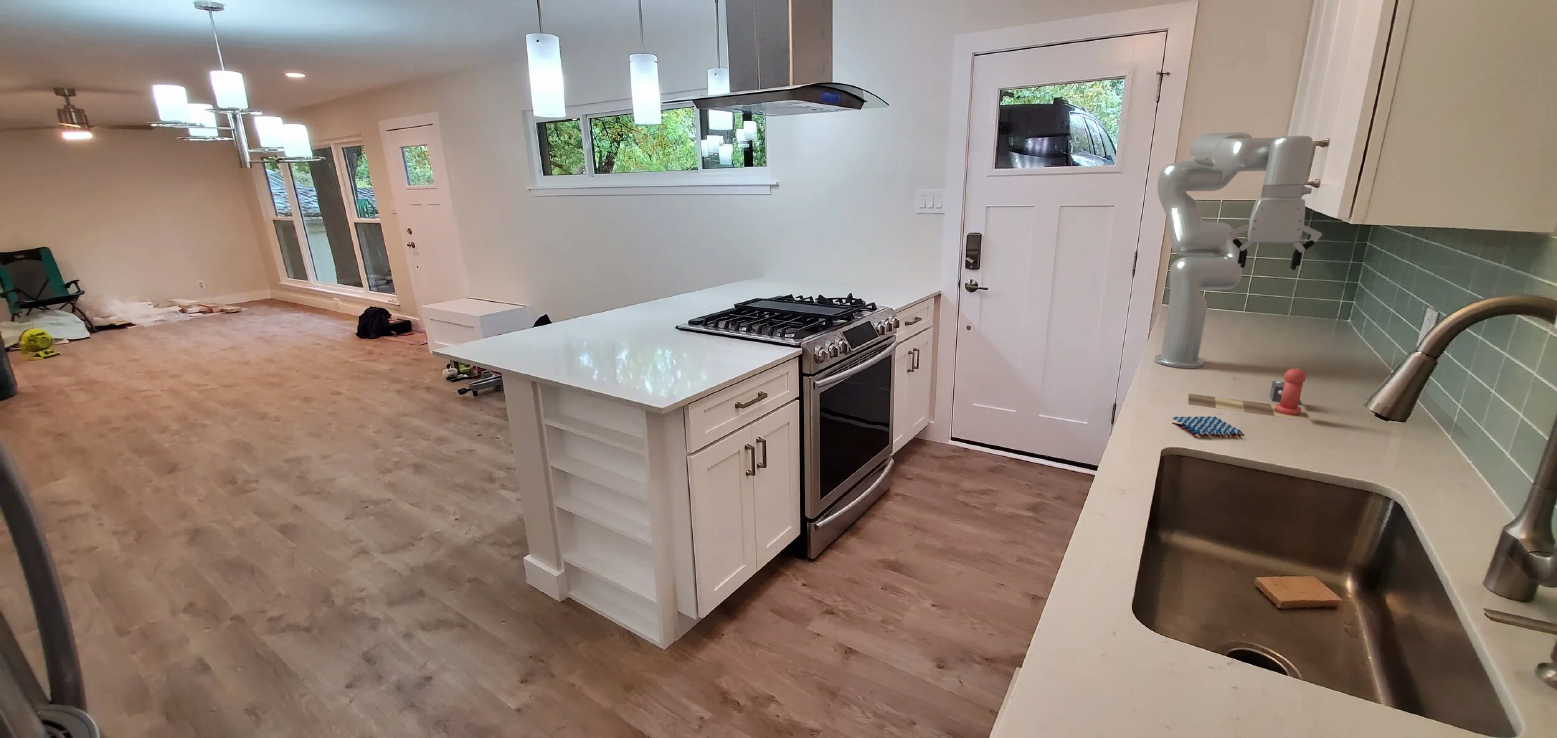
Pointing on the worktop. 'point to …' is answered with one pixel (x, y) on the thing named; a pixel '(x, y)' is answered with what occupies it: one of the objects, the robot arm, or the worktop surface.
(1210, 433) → the woven mat
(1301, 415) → the board
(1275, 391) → the die
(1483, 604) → the worktop surface
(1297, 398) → the pawn
